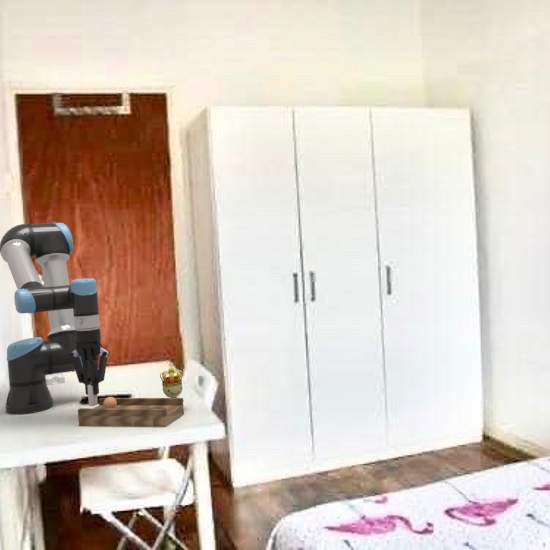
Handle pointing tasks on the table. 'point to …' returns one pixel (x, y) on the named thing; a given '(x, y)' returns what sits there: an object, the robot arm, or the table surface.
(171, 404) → the brown wooden tray
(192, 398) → the table surface
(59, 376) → the slotted bracket
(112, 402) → the ball
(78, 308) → the robot arm
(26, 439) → the table surface
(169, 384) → the toy
